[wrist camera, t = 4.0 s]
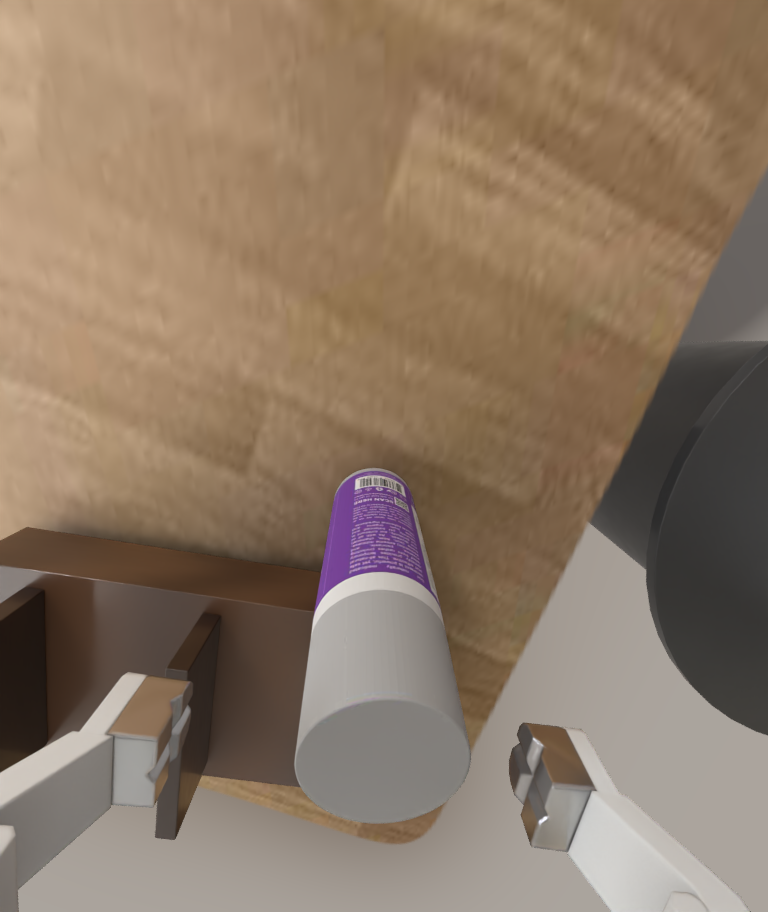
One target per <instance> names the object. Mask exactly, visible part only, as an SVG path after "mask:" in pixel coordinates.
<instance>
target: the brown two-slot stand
mask: <svg viewBox="0 0 768 912" xmlns="http://www.w3.org/2000/svg"><path fill="white" fill-rule="evenodd" d="M320 577H321V572H315V571H309V570H302V569H296V568H289V567H283V566H276V565H270V564H263V563H257V562H250V561H244V560H237V559H231V558H224V557H218V556H211V555H205V554H198V553H192V552H185V551H179V550H172V549H166V548H159V547H153V546H146V545H140V544H133V543H127V542H120V541H114V540H107V539H100V538H94V537H87V536H81V535H74V534H68V533H61V532H55V531H48V530H42V529H35V528H29V527H26V528H24V529H22V530H20V531H18V532H16V533H14V534H12V535H11V536H9V537H7V538H5V539H3V540H1V541H0V772H2V771H4V770H6V769H7V768H9V767H11V766H13V765H14V764H16V763H18V762H20V761H21V760H23V759H25V758H26V757H28V756H30V755H32V754H33V753H35V752H37V751H39V750H40V749H42V748H44V747H46V746H47V745H49V744H51V743H52V742H54V741H56V740H58V739H59V738H61V737H63V736H65V735H66V734H68V733H70V732H72V731H76V732H79V731H80V730H81V729H82V728H83V726H84V725H85V724H86V722H87V721H88V720H89V718H90V717H91V716H92V714H93V713H94V712H95V711H96V709H97V708H98V707H99V705H100V704H101V703H102V701H103V700H104V699H105V698H106V696H107V695H108V694H109V692H110V691H111V690H112V688H113V687H114V686H115V685H116V683H117V682H118V681H119V679H120V678H121V677H122V676H123V675H125V674H126V673H127V672H132V673H138V674H144V675H154V676H161V677H167V678H174V679H180V680H187V681H192V682H193V695H192V697H191V699H190V701H189V703H188V706H189V707H190V709H191V719H190V724H189V729H188V732H187V735H186V738H185V741H184V744H183V746H182V748H181V751H180V753H179V755H178V757H177V758H175V759H174V760H173V761H171V762H170V763H169V775H168V778H167V780H166V782H165V784H164V786H163V789H162V791H161V793H160V795H159V797H158V799H157V801H158V802H157V815H156V832H155V837H156V838H161V839H170V840H175V839H176V836H177V834H178V832H179V829H180V826H181V824H182V822H183V819H184V817H185V814H186V812H187V810H188V807H189V805H190V803H191V800H192V797H193V795H194V793H195V790H196V788H197V786H198V783H199V781H200V778H201V776H202V775H205V776H213V777H222V778H230V779H238V780H246V781H254V782H262V783H270V784H278V785H286V786H294V787H301V786H300V785H299V782H298V780H297V777H296V773H295V766H294V763H295V753H296V746H297V738H298V731H299V723H300V716H301V708H302V701H303V693H304V686H305V678H306V671H307V663H308V656H309V648H310V641H311V633H312V625H313V617H314V611H315V606H316V600H317V594H318V589H319V583H320Z"/></svg>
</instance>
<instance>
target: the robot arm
mask: <svg viewBox="0 0 768 912" xmlns="http://www.w3.org/2000/svg"><path fill="white" fill-rule="evenodd" d="M192 695H193V682H192V681H187V680H180V679H174V678H167V677H161V676H154V675H144V674H138V673H132V672H127V673H126V674H125V675H123V676H122V677H121V678H120V679H119V681H118V682H117V683H116V685H115V686H114V687H113V688H112V690H111V691H110V692H109V694H108V695H107V696H106V698H105V699H104V700H103V701H102V703H101V704H100V705H99V707H98V708H97V709H96V711H95V712H94V713H93V714H92V716H91V717H90V718H89V720H88V721H87V722H86V724H85V725H84V726H83V728H82V729H81V730H80V731H79V732H76V731H72V732H70V733H68V734H66V735H65V736H63V737H61V738H59V739H58V740H56V741H54V742H52V743H51V744H49V745H47V746H46V747H44V748H42V749H40V750H39V751H37V752H35V753H33V754H32V755H30V756H28V757H26V758H25V759H23V760H21V761H20V762H18V763H16V764H14V765H13V766H11V767H9V768H7V769H6V770H4V771H2V772H0V912H19V910H18V909H19V908H18V889H19V888H20V887H22V886H23V885H24V884H25V883H26V882H27V881H28V880H29V879H31V878H32V877H33V876H34V875H35V874H36V873H37V872H38V871H39V870H41V869H42V868H43V867H44V866H45V865H46V864H48V863H49V862H50V861H51V860H52V859H53V858H54V857H55V856H57V855H58V854H59V853H60V852H61V851H62V850H63V849H65V848H66V847H67V846H68V845H69V844H70V843H71V842H72V841H74V840H75V839H76V838H77V837H78V836H79V835H80V834H82V833H83V832H84V831H85V830H86V829H87V828H88V827H89V826H91V825H92V824H93V823H94V822H95V821H96V820H97V819H98V818H100V817H101V816H102V815H103V814H104V813H105V812H106V811H108V810H109V809H110V808H111V805H122V806H136V807H149V808H153V807H154V805H155V803H156V801H157V799H158V797H159V795H160V793H161V791H162V789H163V786H164V784H165V782H166V780H167V778H168V775H169V763H170V762H171V761H173V760H174V759H175V758H177V757H178V755H179V753H180V751H181V748H182V746H183V744H184V741H185V738H186V735H187V732H188V729H189V724H190V719H191V709H190V707H189V706H188V703H189V701H190V699H191V697H192ZM517 736H518V739H519V741H520V743H519V744H518V745H517V746H515V747H514V748H513V749H512V752H511V756H510V760H509V775H510V781H511V785H512V789H513V792H514V795H515V796H516V797H517V798H518V799H519V800H520V802H521V803H522V804H523V805H524V806H523V810H522V813H521V817H522V820H523V823H524V826H525V830H526V833H527V835H528V839H529V842H530V845H531V847H534V848H541V849H548V850H556V851H563V852H568V856H569V857H570V859H571V860H572V861H573V863H574V864H575V865H576V866H577V868H578V869H579V870H580V872H581V873H582V874H583V876H584V877H585V878H586V880H587V881H588V882H589V884H590V885H591V886H592V888H593V889H594V890H595V891H596V893H597V894H598V895H599V897H600V898H601V899H602V901H603V902H604V903H605V905H606V906H607V907H608V908H609V910H610V911H611V912H751V911H750V910H749V909H748V907H747V906H746V904H745V903H744V901H743V900H742V898H741V897H740V896H739V895H738V894H737V893H736V892H735V891H734V890H733V889H732V888H730V887H729V886H728V885H727V884H726V883H725V882H724V881H723V880H721V879H720V878H719V877H718V876H717V875H716V874H715V873H714V872H712V871H711V870H710V869H709V868H708V867H707V866H706V865H704V864H703V863H702V862H701V861H700V860H699V859H698V858H697V857H695V856H694V855H693V854H692V853H691V852H690V851H689V850H688V849H686V848H685V847H684V846H683V845H682V844H681V843H680V842H679V841H677V840H676V839H675V838H674V837H673V836H672V835H671V834H670V833H668V832H667V831H666V830H665V829H664V828H663V827H662V826H661V825H659V824H658V823H657V822H656V821H655V820H654V819H653V818H651V817H650V816H649V815H648V814H647V813H646V812H645V811H644V810H642V809H641V808H640V807H639V806H638V805H637V804H636V803H635V802H633V801H632V800H631V799H630V798H629V797H628V796H627V795H623V794H620V793H619V791H618V790H617V788H616V786H615V784H614V783H613V781H612V779H611V777H610V775H609V774H608V772H607V770H606V768H605V767H604V765H603V763H602V761H601V760H600V758H599V756H598V754H597V752H596V751H595V749H594V747H593V745H592V743H591V742H590V740H589V738H588V736H587V735H586V733H585V732H584V731H583V730H582V729H575V728H567V727H557V726H549V725H540V724H531V723H523V724H521V726H520V727H519V730H518V733H517Z"/></svg>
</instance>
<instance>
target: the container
mask: <svg viewBox="0 0 768 912" xmlns="http://www.w3.org/2000/svg"><path fill="white" fill-rule="evenodd" d="M470 762H471V751H470V745H469V741H468V736H467V731H466V726H465V722H464V717H463V712H462V707H461V703H460V698H459V693H458V689H457V684H456V679H455V674H454V670H453V665H452V660H451V655H450V651H449V646H448V641H447V637H446V632H445V627H444V622H443V617H442V612H441V608H440V604H439V600H438V596H437V592H436V588H435V584H434V580H433V576H432V572H431V568H430V564H429V560H428V556H427V553H426V549H425V545H424V541H423V537H422V533H421V529H420V525H419V521H418V517H417V513H416V509H415V505H414V501H413V497H412V494H411V491H410V489H409V487H408V485H407V484H406V483H405V482H404V480H403V479H402V478H400V477H399V476H398V475H396V474H395V473H393V472H391V471H388V470H385V469H380V468H367V469H363V470H359V471H357V472H355V473H353V474H351V475H350V476H348V477H347V478H346V479H345V480H344V481H343V482H342V483H341V484H340V486H339V487H338V489H337V491H336V494H335V498H334V502H333V508H332V514H331V520H330V525H329V531H328V537H327V543H326V548H325V554H324V560H323V566H322V571H321V577H320V583H319V589H318V594H317V600H316V606H315V611H314V617H313V625H312V633H311V641H310V648H309V656H308V663H307V671H306V678H305V686H304V693H303V701H302V708H301V716H300V723H299V731H298V738H297V746H296V753H295V763H294V766H295V773H296V777H297V780H298V782H299V785H300V786H301V788H302V790H303V791H304V792H305V794H306V795H307V796H308V797H309V798H310V799H311V800H312V801H313V802H314V803H315V804H316V805H318V806H319V807H321V808H322V809H324V810H325V811H327V812H329V813H331V814H333V815H336V816H338V817H341V818H344V819H347V820H351V821H357V822H363V823H392V822H400V821H404V820H409V819H412V818H415V817H418V816H421V815H424V814H426V813H428V812H430V811H432V810H434V809H436V808H438V807H439V806H441V805H442V804H444V803H445V802H446V801H447V800H449V799H450V798H451V797H452V796H453V795H454V794H455V793H456V792H457V791H458V789H459V788H460V787H461V785H462V784H463V782H464V780H465V778H466V776H467V774H468V771H469V767H470Z"/></svg>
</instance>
